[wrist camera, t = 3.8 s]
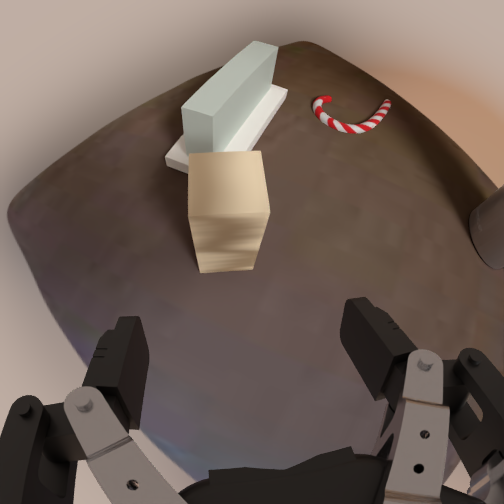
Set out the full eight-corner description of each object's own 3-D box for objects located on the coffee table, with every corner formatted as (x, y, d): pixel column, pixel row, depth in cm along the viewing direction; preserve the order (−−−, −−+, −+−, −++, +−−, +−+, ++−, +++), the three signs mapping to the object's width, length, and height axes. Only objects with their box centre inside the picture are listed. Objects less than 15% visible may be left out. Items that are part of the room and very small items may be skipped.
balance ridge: (285, 98, 35) (297, 49, 27) (226, 189, 28) (229, 131, 21) (237, 82, 35) (242, 34, 28) (166, 165, 29) (154, 108, 21)
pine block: (247, 223, 27) (260, 151, 18) (252, 269, 25) (270, 212, 16) (198, 225, 26) (188, 153, 17) (200, 272, 25) (188, 216, 16)
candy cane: (406, 113, 36) (344, 137, 32) (402, 119, 37) (340, 144, 33) (370, 82, 38) (303, 99, 34) (368, 88, 39) (301, 106, 35)
